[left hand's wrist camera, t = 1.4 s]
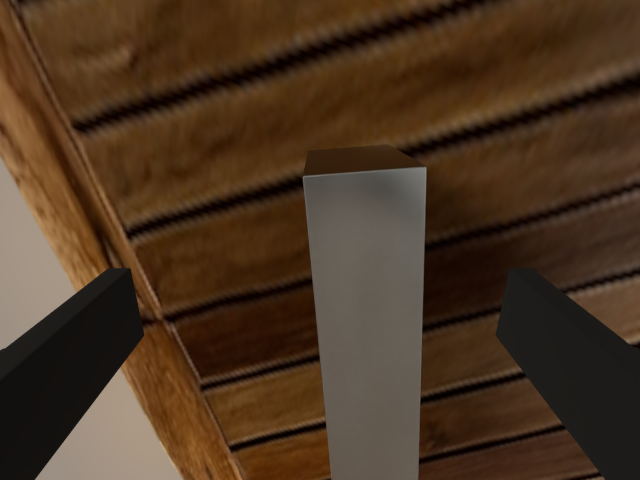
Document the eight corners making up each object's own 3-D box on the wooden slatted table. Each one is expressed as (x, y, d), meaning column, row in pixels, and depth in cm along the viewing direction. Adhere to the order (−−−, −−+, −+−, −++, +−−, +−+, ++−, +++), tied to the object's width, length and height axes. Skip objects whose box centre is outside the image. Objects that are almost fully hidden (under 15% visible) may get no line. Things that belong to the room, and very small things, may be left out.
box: (307, 151, 28) (302, 175, 18) (388, 144, 27) (427, 165, 18) (328, 388, 36) (332, 494, 26) (390, 384, 36) (418, 489, 26)
